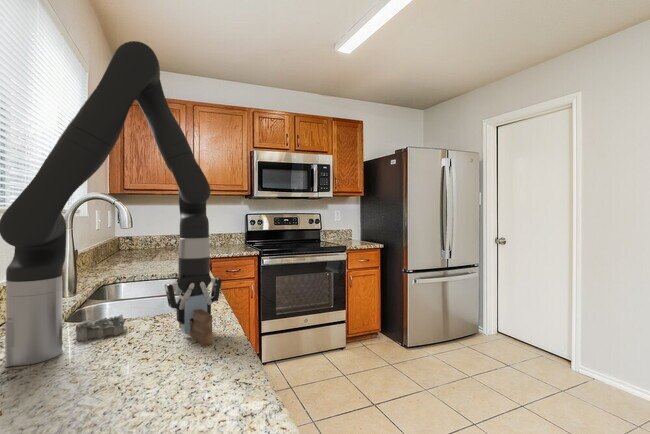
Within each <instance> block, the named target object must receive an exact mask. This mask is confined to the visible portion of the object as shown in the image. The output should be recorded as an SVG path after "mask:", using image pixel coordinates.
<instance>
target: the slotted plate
mask: <svg viewBox="0 0 650 434" xmlns="http://www.w3.org/2000/svg"><path fill="white" fill-rule="evenodd" d="M178 325H179V326H178V327H179V329H181V324H180V323H179V322H178ZM187 335H188V336H190V337H191V338H192V339H194V340H195V342H197V343H199V345H201V346H203V348H205V347H208V346H211V345H213V314H212V313H211V314H209V313H207V312H206V311H204V310H202V309H200V310H194V311H193V318H192V319H190V333H187Z"/></svg>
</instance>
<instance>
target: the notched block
mask: <svg viewBox="0 0 650 434" xmlns="http://www.w3.org/2000/svg"><path fill="white" fill-rule="evenodd" d="M200 309H202V310H204V311H206V312H207V297H206V298H205V296H204V295H203V293H202V294H201V295H193V296H190V297H189V299H188V301H186V300H185V307H184V324H181V328H180V332H182V333H183V334H185V335H186V334H187V333H190V319H192V318H193V311H194V310H200ZM187 335H188V334H187Z"/></svg>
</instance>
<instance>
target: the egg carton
mask: <svg viewBox="0 0 650 434" xmlns="http://www.w3.org/2000/svg"><path fill="white" fill-rule="evenodd" d="M124 329H125V320H124V316H123V314H120V315H118V316H117V315H116V316H113V317H109V318H107V317H104V318H101V319H94V320H87V319H86V320H83V321H81V322H79V323H77V324H76V326H75V330H74V332H75V334H76V336H75V338H76V340H75V341H87V340H89V339H91V338H98V339H101V338H104V337H106V336H109V335H112V336H117V335H119V334H121V333H124V331H125V330H124Z"/></svg>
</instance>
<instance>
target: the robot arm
mask: <svg viewBox="0 0 650 434" xmlns="http://www.w3.org/2000/svg"><path fill="white" fill-rule="evenodd" d="M160 69H161V68H160V63H159V59H158V57H157V54H156V53H155V52H154V50H153V49H152V48H151V47H150V46H149V45H148V44H146V43H144V42H141V41H137V40H134V41H133V40H131V41H126V42H124V43H122V44H121V45H119V46H118V47H117V48H116V49H115V52H113V55H112V57H111V58H110V61H109V63H108V65H107V67H106V69H105V71H104V73H103V75H102V77H101V79H100V81H99V82H98V84H97V86H96V87H95V88H94V90H93V91H92V93H91V94H90V95H89V96H88V98H87V99H86V100H85V101H84V103H83V104H82V105H81V106H80V108H79V109H78V110H77V111H78V112H77V113H76V114H75V115H74V116H73V118H72V120H71V121H70V122H69V123H68V125H67V126H66V127H65V129H64V130H63V132H62V134H61V135H60V136H59V138H58V140H57V141H56V143H55V144H54V146H53V147H52V149H51V151H50V152H49V153H48V155H47V157H46V158H45V159H44V160H43V161H44V162H43V163H42V164H41V166H40V168H39V169H38V171H37V172H36V175H35V176H34V177H33V178H32V179H31V180H30V182H29V183H28V185H27V186H26V187H25V188H24V189H23V191H22V192H20V194H19V195H18V196H17V197H16V199H14V201H12V203H10V205H9V206H8V207H7V208H6V210H5V211H4V212H3V213H2V216H1V217H0V236H1V238H2V240H3V241H4V242H5V243H7V244H8V245H10V246H13V247H14V254H13V257H12V260H11V261H10V263H9V265H8V266H7V268H6V270H5V280H6V281H5V285H6V286H5V289H6V290H5V292H6V293H5V298H6V299H5V303H6V304H5V305H6V306H5V310H6V311H5V316H6V317H5V320H4V322H5V325H4V328H5V329H4V332H5V333H4V334H5V336H4V337H5V338H4V340H5V344H4V345H5V347H4V348H5V349H4V350H5V353H4V354H5V355H4V357H5V360H4V361H5V366H4V367H5V368H8V367H14V366H15V367H18V366H19V367H21V366H28V365H33V364H38V363H41V362H42V363H43V362H45V361H49V360H51V359H53V358H56V357H58V356H59V355H61V354H62V353H63V268H64V264H65V261H66V252H67V224H66V220H65V219H66V218H65V217H64V215H63V214H62V212H63V210H64V208H65V206H66V205H67V203H68V201H69V200H70V198H71V197H72V196H73V194H74V193H75V192H76V191H77V190H78V189H79V188H81V186H82V185H83V184H84V183H85V182H87V181H88V180H89V179H90V178H91V177H92V176H93V175H94V174H95V173H96V172H97V171H98V170H100V168H101V166H103V164H104V163H105V161H106V159H107V158H108V157H109V155H110V154H111V152H112V150H113V149H114V147H115V145H117V142H118V140H119V138H120V136H121V133H122V130H123V128H124V125H125V122H126V120H127V117H128V114H129V112H130V109H131V107H132V106H133V104H134V103H135V101H136V103H137V104H138V106H139V107H140V110H141V112H142V113H143V115H144V117H145V119H146V121H147V124H148V126H149V129H150V132H151V135H152V138H153V139H154V141H155V144H156V146H157V149H158V151H159V153H160V155H161V157H162V158H163V162H164V164H165V165H166V167H167V168H168V171H170V172H171V173H172V176H173V178H174V179H175V182H176V184H177V187H178V207H179V216H180V217H179V218H180V220H179V243H178V252H177V256H178V267H177V268H178V270H177V271H178V277H177V280H176V281H175V282H171V283H167V282H166V283H165V285H164V289H165V295H166V299H167V304H168V307H170V308H171V309H175V310H176V321H177V322H178V324H179V323H180V324H184V307H185V300H186V301H188V299H189V297H190V296H193V295H201V294H202V293H203V295H204V296H205V298H206V297H207V313H209V314H211V315H212V304H213V303H215V302H218V301H219V300H220V299H219V297H220V294H221V293H220V291H221V287H222V279H221V278H219V277H211V275H210V273H211V270H210V269H211V266H210V265H211V256H210V254H211V245H210V238H209V237H210V235H209V234H210V225H209V224H210V222H209V218H208V216H207V201H208V200H209V198H210V196H211V192H212V191H211V186H210V184H209V182H208V181H209V180H208V179H207V177H206V175H205V174H204V172H203V170H202V168H201V167H200V165H199V164H198V162H197V160H196V158H195V155H194V153H193V151H192V148H191V146H190V143H189V141H188V139H187V137H186V136H185V134H184V131H183V130H182V128H181V126H180V124H179V122H178V121H177V119H176V117H175V116H174V113H173V112H172V110H171V108H170V106H169V104H168V101H167V99H166V96H165V93H164V90H163V86H162V83H161V81H162V80H161V79H160V77H161V70H160ZM209 285H211V286H212V287H211V293H209V291H208V288H209ZM177 288H179V289H180V291H181V292H180V293H179V296H178V300H177V301H176V294H175V292H176V291H177Z"/></svg>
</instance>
